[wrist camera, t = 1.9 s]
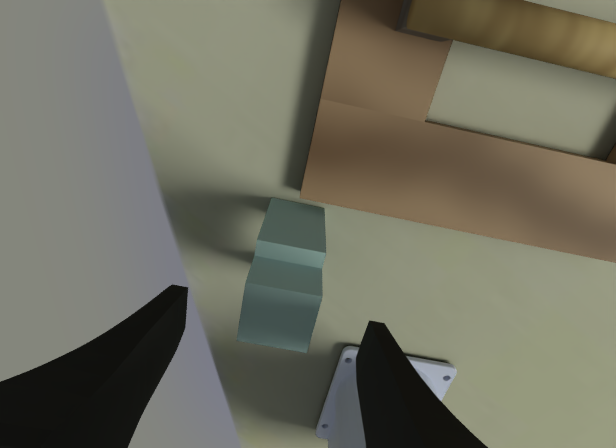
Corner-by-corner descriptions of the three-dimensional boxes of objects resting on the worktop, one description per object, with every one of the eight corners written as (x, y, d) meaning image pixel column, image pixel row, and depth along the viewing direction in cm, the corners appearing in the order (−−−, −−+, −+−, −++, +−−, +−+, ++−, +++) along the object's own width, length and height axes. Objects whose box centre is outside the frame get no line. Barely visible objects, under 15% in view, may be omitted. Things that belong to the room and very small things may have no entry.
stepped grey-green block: (307, 275, 21) (303, 366, 15) (259, 266, 21) (234, 354, 15) (324, 208, 19) (327, 280, 13) (271, 197, 19) (248, 264, 13)
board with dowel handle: (604, 253, 20) (673, 300, 16) (300, 191, 19) (295, 225, 15) (887, -170, 12) (1146, -274, 9) (407, -317, 11) (453, -513, 7)
